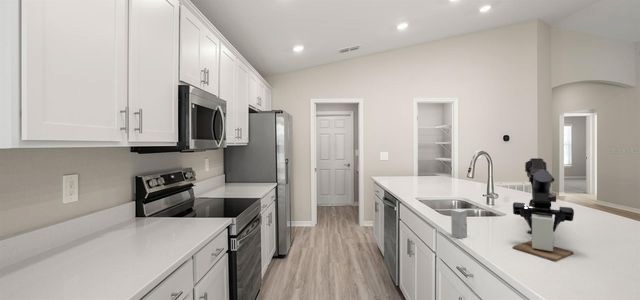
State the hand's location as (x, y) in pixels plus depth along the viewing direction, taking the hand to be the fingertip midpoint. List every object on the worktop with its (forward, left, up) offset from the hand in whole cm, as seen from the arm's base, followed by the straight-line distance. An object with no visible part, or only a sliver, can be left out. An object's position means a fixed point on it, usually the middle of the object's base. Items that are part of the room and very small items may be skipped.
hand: (542, 229), depth 104 cm
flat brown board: (-1, -1, -9) cm, 9 cm away
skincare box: (+11, -28, -9) cm, 31 cm away
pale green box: (-1, -1, -7) cm, 7 cm away
